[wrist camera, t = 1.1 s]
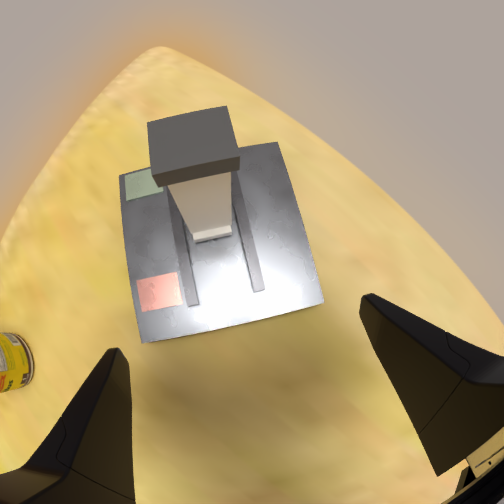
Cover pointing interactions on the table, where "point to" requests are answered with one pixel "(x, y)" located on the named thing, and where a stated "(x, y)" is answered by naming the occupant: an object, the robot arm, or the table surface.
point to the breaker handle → (197, 167)
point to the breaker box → (217, 253)
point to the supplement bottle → (14, 362)
